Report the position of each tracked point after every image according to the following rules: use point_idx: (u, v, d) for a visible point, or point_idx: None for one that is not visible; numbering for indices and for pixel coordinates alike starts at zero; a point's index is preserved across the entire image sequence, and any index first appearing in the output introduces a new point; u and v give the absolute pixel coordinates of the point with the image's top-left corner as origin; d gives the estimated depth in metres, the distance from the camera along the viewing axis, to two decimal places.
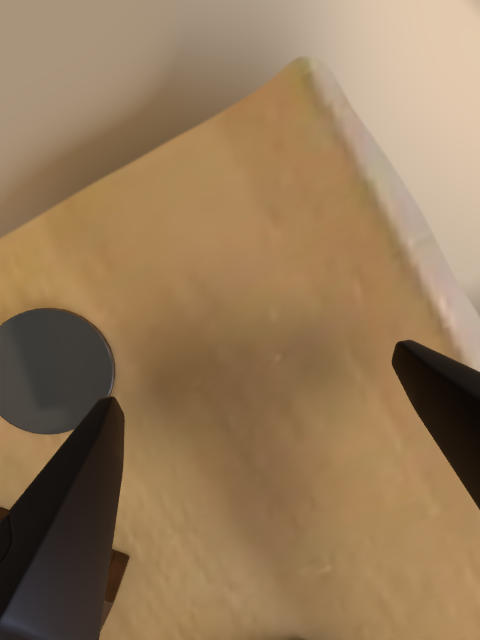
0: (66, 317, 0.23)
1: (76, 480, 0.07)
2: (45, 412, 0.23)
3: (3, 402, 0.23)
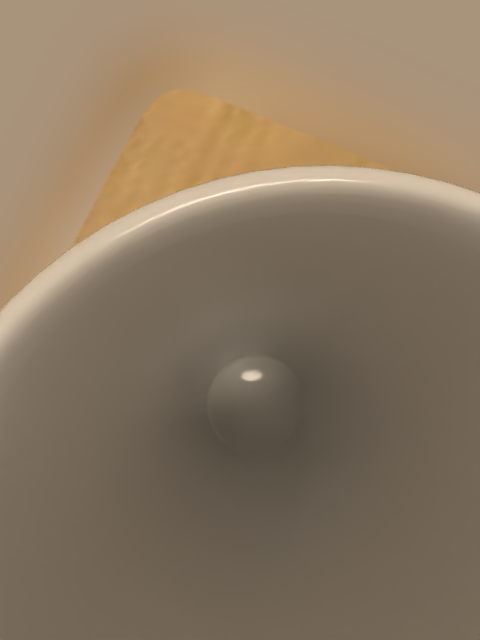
0: None
1: None
2: None
3: None
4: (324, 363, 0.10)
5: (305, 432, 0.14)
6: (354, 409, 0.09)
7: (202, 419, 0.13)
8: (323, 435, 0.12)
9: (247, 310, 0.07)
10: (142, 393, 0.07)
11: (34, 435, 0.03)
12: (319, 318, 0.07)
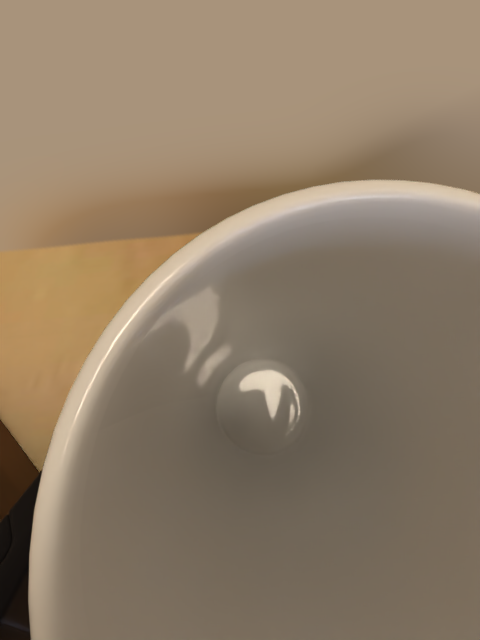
0: None
1: None
2: None
3: None
4: (337, 364, 0.11)
5: (311, 434, 0.14)
6: (366, 407, 0.10)
7: (213, 419, 0.14)
8: (331, 435, 0.12)
9: (277, 309, 0.08)
10: (181, 383, 0.07)
11: (130, 399, 0.04)
12: (343, 318, 0.08)
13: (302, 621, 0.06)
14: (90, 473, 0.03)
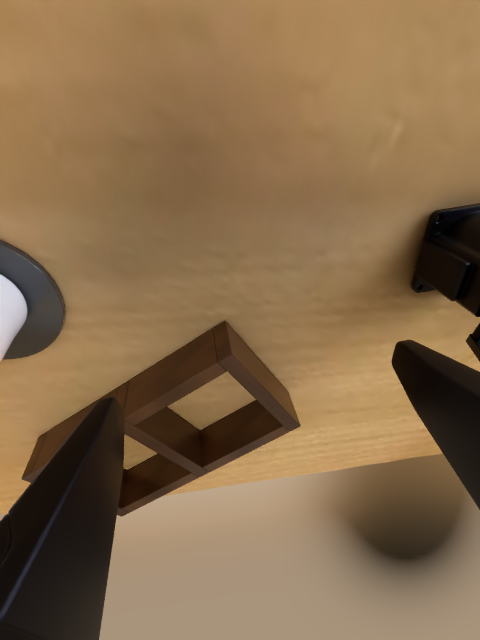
0: None
1: (76, 480, 0.07)
2: (33, 324, 0.21)
3: (10, 350, 0.22)
4: None
5: None
6: None
7: None
8: None
9: None
10: None
11: None
12: None
13: None
14: None
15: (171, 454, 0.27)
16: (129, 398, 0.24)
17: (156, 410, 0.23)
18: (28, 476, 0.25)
